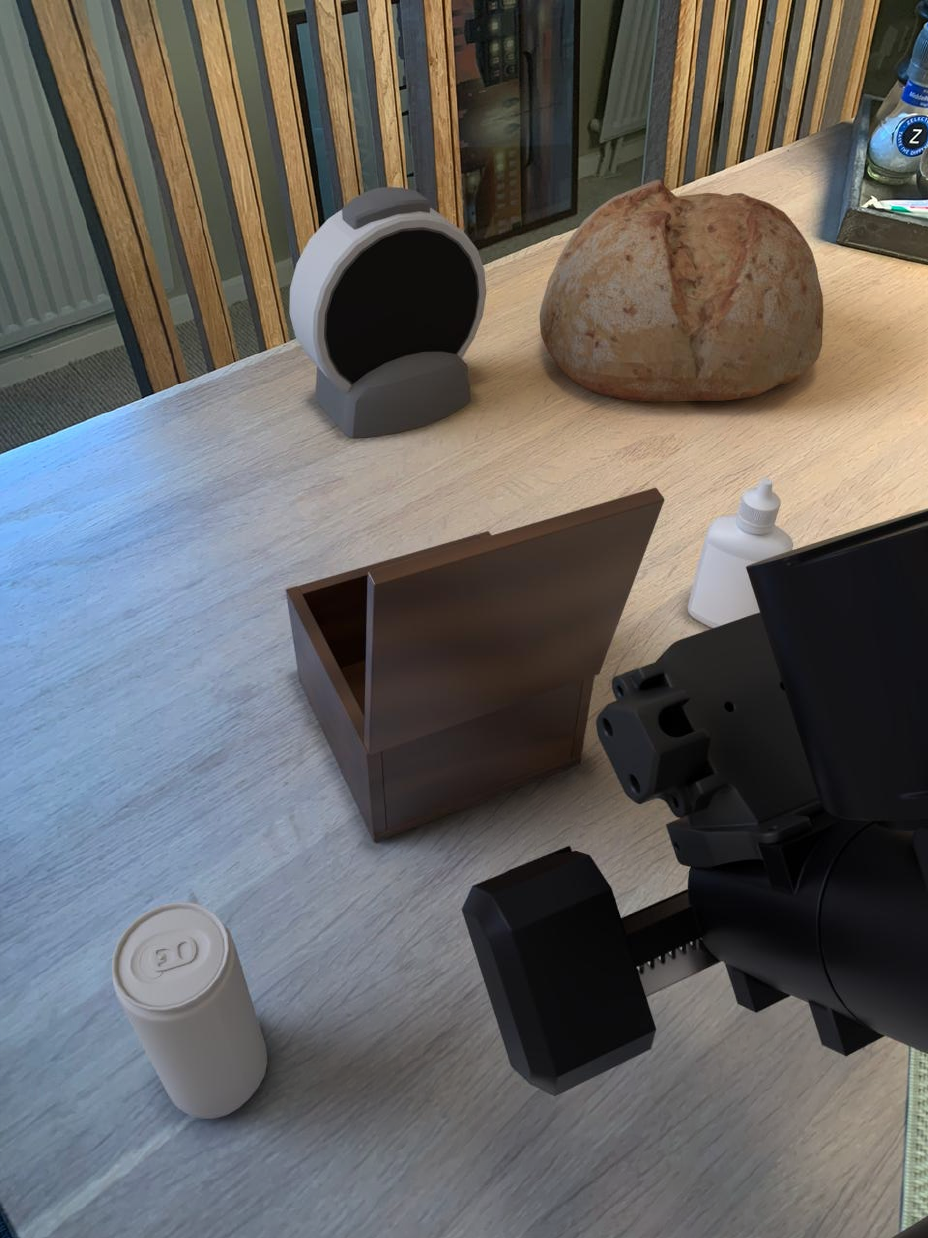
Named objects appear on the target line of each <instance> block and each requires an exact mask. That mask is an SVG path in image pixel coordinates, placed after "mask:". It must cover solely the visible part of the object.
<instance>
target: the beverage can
mask: <svg viewBox="0 0 928 1238" xmlns="http://www.w3.org/2000/svg"><path fill="white" fill-rule="evenodd" d="M111 961H112V962H111V974H112V984H113V988H114V991H115V994H116V998H117V1000H118V1001H119V1003H120V1006H121V1007H122V1009H123V1011H124V1013H125V1015H126V1017H127V1018H128V1020H129V1022H130V1024H131V1026H132V1028H133V1030H134V1033H135V1034H136V1036H137V1038H138V1039H139V1042H140V1043H141V1045H142V1047H143V1049H144V1051H145V1054H146V1055H147V1057H148V1059H149V1061H150V1063H151V1065H152V1067H153V1069H154V1071H155V1072H156V1074H157V1076H158V1078H159V1080H160V1081H161V1084H162V1086H163V1088H164V1089H165V1091H166V1093H167V1095H168V1097H169V1098H170V1100H171V1101H172V1102H173V1104H174V1105H175V1107H177V1109H178V1110H180V1111H182V1112H183V1113H184V1114H185V1115H188V1116H191V1117H193V1118H197V1119H207V1120H213V1119H218V1118H222V1117H225V1116H227V1115H228V1116H229V1114H231V1113H233V1112H235V1111H236V1110H238V1109H240V1108H241V1107H242V1106H243V1105H244V1104H245V1103H246V1102H248V1100H250V1099H251V1097H252V1096H253V1095H254V1094H255V1092H256V1091H257V1089H259V1087H260V1086H261V1083H262V1081H263V1079H264V1077H265V1075H266V1072H267V1065H268V1053H267V1052H268V1051H267V1046H266V1043H265V1038H264V1036H263V1032H262V1030H261V1026H260V1022H259V1019H258V1017H257V1013H256V1010H255V1006H254V1003H253V1000H252V997H251V993H250V990H249V987H248V984H247V983H248V982H247V980H246V977H245V974H244V971H243V967H242V964H241V960H240V957H239V954H238V951H237V947H236V945H235V942H234V939H233V936H232V934H231V932H230V930H229V928H228V927H227V926H226V925H225V924H224V922H223V921H222V920H221V919H220V918H219V916H218V915H217V914H216V913H215V912H214V911H212V910H211V909H209V908H208V907H206V906H204V905H200V904H198V903H193V902H184V901H175V902H171V903H165V904H161V905H159V906H157V907H154V908H152V909H149V910H147V911H146V912H144V913H143V914H141V915H140V916H138V917H137V918H136V919H134V920H133V922H132V923H130V925H128V927H127V928H126V929H125V930H124V931H123V932H122V935H121V936H120V938H119V940H118V942H117V943H116V946H115V948H114V951H113V955H112V959H111Z"/></svg>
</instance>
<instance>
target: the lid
mask: <svg viewBox="0 0 928 1238" xmlns="http://www.w3.org/2000/svg"><path fill="white" fill-rule="evenodd" d="M664 502H665V497H664V496H663V494H662V493H661V492H660V490H659V489H658V488H657V487H652V488H649V489H646V490H642V491H638V492H636V493H632V494H628V495H625V496H622V497H619V498H614V499H611V500H607V501H605V502H601V503H597V504H595V505H591V506H586V507H584V508H580V509H577V510H574V511H571V512H567V513H563V514H561V515H557V516H554V517H550V518H546V519H543V520H542V519H541V520H539V521H536V522H531V523H529V524H526V525H522V526H518V527H515V528H511V529H509V530H505V531H502V532H498V533H494V534H491V536H488V537H484V538H481V539H477V540H474V541H470V542H467V543H464V544H460V545H457V546H453V547H450V548H446V549H443V550H440V551H436V552H433V553H429V554H426V555H422V556H419V557H416V558H412V559H409V560H405V561H402V562H398V563H395V564H391V565H388V566H385V567H381V568H378V569H374V570H371V571H368V583H367V631H366V679H365V728H364V744H365V747H366V749H367V751H368V753H369V755H371V754H374V753H377V752H380V751H383V750H385V749H388V748H391V747H394V746H397V745H400V744H402V743H405V742H408V741H411V740H414V739H417V738H419V737H422V736H425V735H428V734H431V733H434V732H436V731H439V730H442V729H445V728H448V727H451V726H453V725H456V724H459V723H462V722H465V721H468V720H470V719H473V718H476V717H479V716H482V715H485V714H487V713H490V712H493V711H496V710H499V709H502V708H504V707H507V706H510V705H513V704H516V703H519V702H521V701H524V700H527V699H530V698H533V697H536V696H538V695H541V694H544V693H547V692H550V691H553V690H555V689H558V688H561V687H564V686H567V685H570V684H572V683H575V682H578V681H581V680H584V679H587V678H589V677H592V676H595V677H596V676H598V675H600V674H601V672H602V668H603V665H604V663H605V660H606V658H607V655H608V653H609V650H610V647H611V644H612V642H613V640H614V636H615V634H616V631H617V629H618V625H619V622H620V620H621V618H622V616H623V612H624V609H625V607H626V604H627V601H628V599H629V596H630V593H631V591H632V588H633V586H634V583H635V580H636V579H637V575H638V573H639V569H640V567H641V565H642V562H643V559H644V557H645V553H646V551H647V548H648V546H649V543H650V540H651V538H652V534H653V533H654V529H655V527H656V524H657V521H658V519H659V516H660V514H661V512H662V508H663V505H664Z"/></svg>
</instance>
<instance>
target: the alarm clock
mask: <svg viewBox="0 0 928 1238" xmlns="http://www.w3.org/2000/svg"><path fill="white" fill-rule="evenodd" d="M485 271H486V270H485V266H484V264H483V261H482V258H481V256H480V253H479V251H478V248H477V247H476V246H475V244H474V243H473V242H472V240H471V239H470V238H469V236H468V235H467V234H466V233H465V232H464V230H462V229H461V228H460V227H458V226H456V225H455V224H454V223H453V222H451V221H450V220H448V219H447V218H446V217H445V216H443V215H442V214H441V213H439V212H438V211H436V209H433V208H432V207H431V201H430V200H429V199H427V198H426V197H425V196H424V195H422V194H421V193H420V192H418V191H417V190H414V189H409V188H405V187H395V186H387V187H385V186H384V187H383V186H382V187H376V188H373V189H370V190H368V191H365V192H363V193H361V194H359V195H357V196H355V197H354V198H352V199H351V200H350V201H348V202H347V203H346V204H345V205H344V206H343V207H342V209H340V210H339V211H337V212H336V213H335V214H333V215H331V216H330V217H328V219H326V221H325V222H324V223H323V224H322V225H321V226H320V227H319V228H318V229H317V231H316V232H315V233H314V234H313V235H312V236H311V237H310V238H309V240H308V242H307V243H306V245H305V247H304V249H303V251H302V253H301V255H300V257H299V259H298V260H297V262H296V265H295V269H294V273H293V275H292V276H293V277H292V280H291V283H290V288H289V317H290V321H291V325H292V329H293V333H294V337H295V339H296V340H297V341H298V343H299V345H300V347H301V349H302V350H303V351H304V353H305V356H307V357H308V358H309V359H310V361H311V362H312V363H313V364H314V365H315V366H316V377H315V379H316V380H315V397H314V401H315V403H317V404H318V406H319V407H320V408H321V409H322V410H323V411H324V412H325V413H326V414H327V416H328V418H330V420H332V422H333V423H334V424H335V425H336V426H337V427H338V428H339V430H340V431H341V432H342V433H343V434H344V435H345V437H348V438H351V439H358V438H359V439H360V438H375V437H381V436H386V435H387V436H388V435H393V434H398V433H402V432H403V433H404V432H407V431H410V430H414V429H418V428H422V427H425V426H427V425H430V424H432V423H435V422H437V421H440V420H442V419H444V418H446V417H448V416H450V415H452V414H454V413H455V412H458V411H459V410H461V409H463V408H464V407H465V406H466V405H468V404H469V403H470V402H472V394H471V386H470V378H469V371H468V370H469V369H468V363H467V362H466V361H465V360H464V359H463V357H464V356H465V354H466V353H467V351H468V349H469V348H470V347H471V345H472V343H473V341H474V339H475V338H476V335H477V333H478V329H479V327H480V324H481V322H482V319H483V316H484V311H485V304H486V297H487V282H486V272H485Z"/></svg>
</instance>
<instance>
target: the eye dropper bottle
mask: <svg viewBox="0 0 928 1238" xmlns="http://www.w3.org/2000/svg"><path fill="white" fill-rule="evenodd" d="M781 504H782V501H781V498H780V497H779V495H778V494H777V493H776V492H774V491H773V479H771V478H769V477H762V478H761V479H760V481H759V483H758V485H757V487H751V488H749V489H746V490H745V491H744V492H743V493H742V495H741V498H740V502H739V506H738V509H737V513H736V514H728V515H722V516H718V517H716V518H714V519H713V520H712V521H711V523H710V524H709V527H708V529H707V531H706V534H705V537H704V541H703V543H702V544H703V545H702V548H701V551H700V555H699V560H698V563H697V567H696V572H695V576H694V579H693V583H692V587H691V591H690V595H689V600H688V604H687V611H688V614H689V615H690V616H691V617H692V618H694V619H695V620H696V621H698V622H700V623H701V624H703V625H705V626H707V627H709V628H711V629H712V628H715V627H718V626H721V625H724V624H727V623H730V622H733V621H735V620H738V619H741V618H744V617H747V616H750V615H753V614H756V613H760V610H759V607H758V604H757V601H756V598H755V595H754V592H753V588H752V585H751V582H750V579H749V576H748V573H747V570H746V566H749V565H751V564H753V563H756V562H759V561H762V560H765V559H767V558H770V557H773V556H776V555H779V554H782V553H785V552H788V551H791V550H794V549H793V548H794V541H793V538H792V537H791V536H790V535H789V534H788V533H787V532H786V531H784V530H783V528H781V527H780V526H778V525H776V521H777V517H778V514H779V512H780V507H781V506H782V505H781Z"/></svg>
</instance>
